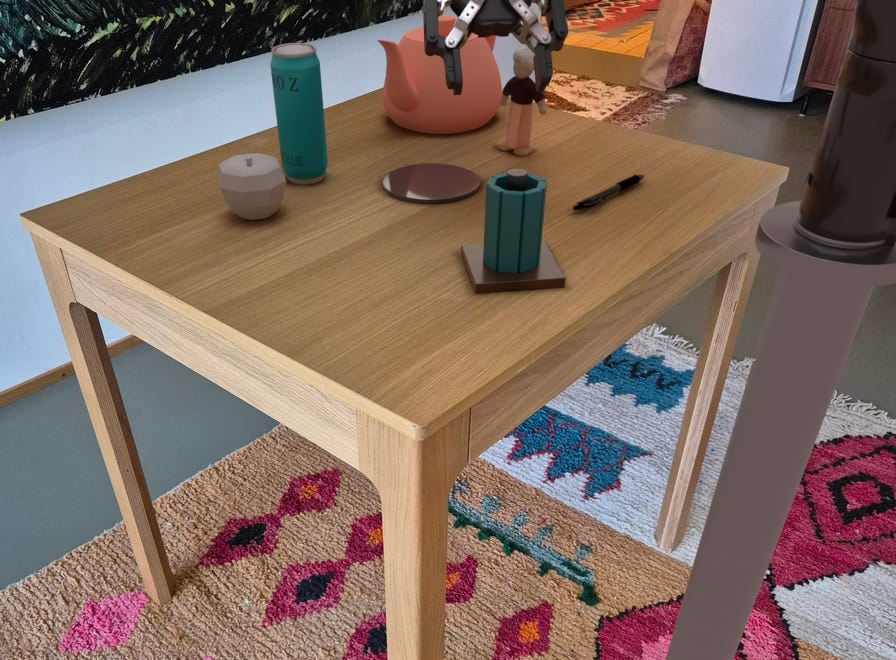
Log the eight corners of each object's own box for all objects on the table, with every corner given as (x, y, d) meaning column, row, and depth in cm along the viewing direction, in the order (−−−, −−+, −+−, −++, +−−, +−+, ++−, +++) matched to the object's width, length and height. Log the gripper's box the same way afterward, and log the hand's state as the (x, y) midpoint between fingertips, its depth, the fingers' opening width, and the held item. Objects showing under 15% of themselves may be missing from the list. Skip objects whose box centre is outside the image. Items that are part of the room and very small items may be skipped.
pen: (581, 216, 95) (582, 206, 94) (569, 211, 96) (570, 202, 95) (650, 182, 103) (651, 173, 102) (638, 179, 103) (640, 170, 103)
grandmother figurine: (486, 149, 113) (491, 46, 104) (501, 141, 115) (506, 40, 107) (537, 160, 109) (545, 55, 101) (550, 152, 112) (560, 48, 103)
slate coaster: (486, 170, 107) (487, 166, 106) (470, 207, 98) (470, 203, 98) (396, 164, 109) (396, 160, 109) (371, 199, 100) (371, 195, 100)
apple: (213, 227, 94) (202, 169, 90) (232, 200, 100) (224, 144, 96) (281, 229, 94) (274, 171, 89) (297, 202, 100) (291, 146, 95)
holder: (543, 247, 89) (552, 153, 83) (564, 287, 82) (576, 187, 76) (460, 253, 89) (463, 158, 82) (475, 293, 82) (479, 192, 75)
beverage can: (299, 167, 108) (286, 40, 99) (337, 173, 107) (327, 45, 97) (274, 182, 105) (258, 51, 95) (313, 189, 103) (301, 56, 93)
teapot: (427, 155, 111) (427, 45, 103) (338, 129, 120) (330, 25, 111) (533, 109, 126) (541, 9, 117) (447, 89, 134) (448, -6, 125)
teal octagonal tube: (542, 251, 86) (549, 174, 81) (535, 275, 82) (542, 196, 77) (488, 246, 87) (492, 170, 82) (479, 270, 83) (482, 191, 78)
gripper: (418, -91, 80) (433, 71, 79) (563, -95, 81) (580, 64, 80) (412, -36, 87) (426, 112, 86) (545, -41, 89) (561, 106, 87)
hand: (500, 89), depth 83 cm, fingers open, 8 cm apart
